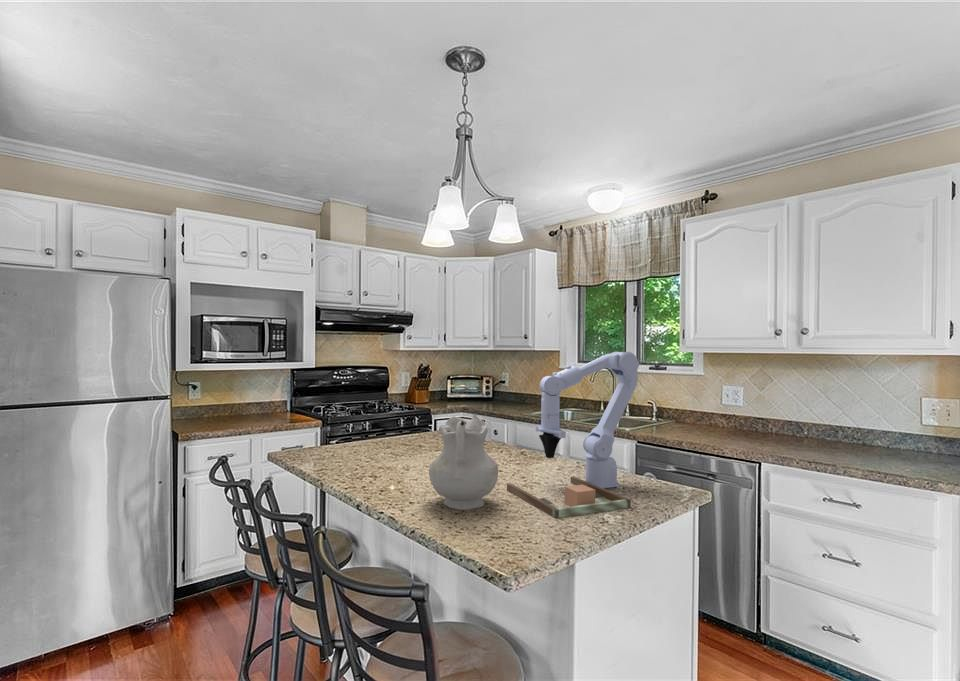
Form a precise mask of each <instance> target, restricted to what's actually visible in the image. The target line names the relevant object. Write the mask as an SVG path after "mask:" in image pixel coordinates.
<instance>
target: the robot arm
mask: <svg viewBox="0 0 960 681" xmlns="http://www.w3.org/2000/svg"><path fill="white" fill-rule="evenodd" d="M639 366H640V362H639V360H638V358H637V356H636V354H634V353H633V352H632V351H631V352H630V351H613V352H611V353H607V354H603V355H601V356H599V357H597V358H595V359H593V360H591V361H590V362H587V363H586V364H583V365H581V366H579V367H578V366H576V365H572V366H571V365H566V366H565V369H562V370H560V371H558V372H557V371H554V372H552V376H551V375H547V376H544V377H542V379H541V380H540V382H539V384H538V388H539V390H540V392H541V401H540V403H541V404H540V406H541V408H540V409H541V412H540V417H541V418H540V421H541V422H540V424H535V432H540V433H542V434H539V436H538V437H539V440H540V442H541V443H542V447H543V451H544V454H545V457H546V458H547V459H553V458H555V453H556V450H557V448H558V447H557V446H558V444H559V443H560V441H561V439H566V437H567V435H566V434H567V431H565V430H563V429H561V428H560V411H561V410H560V404H561V403H560V402H561V400H560V394H561V393H562V391H564V390H566V389H568V388H571V387H573V386H575V385H578V384H580V383H581V382H582V380H583V378H584V377H586V376H589V375H591V374H593V373H596V372H599V371H601V370H603V369H610V370H611V372H613V373H614V375H615V376H616V380H617V382H618V384H617V386H616V388H615V390H614V392H613V394H612V395H611V398H610V399H609V402H608V404H607V406H606V408H605V410H604V412H603V413H602V416H601V418H600V420H599V422H598V424H597V426H595V427H594V428H592V429H591V431H590V433H589V434H588V435H587V436H585V438H584V439H583V441H582V446H583V449H584V451H585V452H586V454H585V481H586V482H589V483H591V484H593V485H596V486H598V487H600V488H603V489H608V488H617V487H619V484H617V483H618V477H617V476H618V465H617V461H616V460H615V458H614V457H612V456H611V455H612V453H613V444H614V443H615V436H614V432H615V430H616V428H617V426H618V424H619V422H620V421H621V418H622V416H623V414H624V412H625V410H626V408H627V406H628V404H629V402H630V400H631V398H632V396H633V394H634V391H635V390H636V387H637V386H638V369H639Z"/></svg>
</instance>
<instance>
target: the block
mask: <svg viewBox="0 0 960 681" xmlns="http://www.w3.org/2000/svg"><path fill="white" fill-rule="evenodd" d="M593 503H596V501H595V490H594V489H592V488H590V487H587V486H585V485H574V484H573V485H567V486H564V504H565V505H567V507H571V506H578V505H586V504H593Z"/></svg>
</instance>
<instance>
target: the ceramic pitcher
mask: <svg viewBox="0 0 960 681" xmlns="http://www.w3.org/2000/svg"><path fill="white" fill-rule="evenodd" d="M484 420H485V418H483V417H482V416H481V415H477V414H473V415H472V418H471V419H470V420H469V421H468V420H465V419H464V418H462V417H458V416H455V415H453V416H451V417H450V418H448V419H447V421H446V422H445V424H444V425H439V428H438V429H439V433H440V435H441V436H442V441H443V447H442V450H441V452H440V453H439V454H438V455H437V456H436V457H435V458H434V459H432V461H431V463H430V466H429V468H428V475H429V480H430V483H431V486H432V488H433V489H434V490H435V491H436V493H437V495H439V496H442V497H444V498H445V499H444V500H443V501H442V503H441V504H442V505H444V506H445V507H448V508H450V509H453V510H463V511H464V510H466V511H471V510H475V509H479V508H482V507H484V505H485V501H484V499H483V498H484V497H486V496H488V495H489V494H491V493H492V491H493V490H494V489H495V487H496V484H497V482H498V479H499V478H498V477H499V467H498V463H497V461H496V459H494V458H493V457H491V455H489V454H488V453H487V451H486V450H485V440H486V438H487V434H488V432H489V430H490V428H489V427H488V425H486V423H485V421H484Z"/></svg>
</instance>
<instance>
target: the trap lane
mask: <svg viewBox="0 0 960 681" xmlns="http://www.w3.org/2000/svg"><path fill="white" fill-rule="evenodd" d="M570 484H573V486H574V485H585V486H587V487H590V488H592V489H594V490H595V503H593V504H586V505H578V506H571V507H570V506H564V507H559V506H558V505H556V504H554V503H553V501H550V500H548V499H547V498H545V497H542V498H538V497H537V496H535V495H533V494H532V493H530V492H527V491H525V490H524V489H522V488H520V487H519V486H517V485H515V484H513V483H511V482H507V483H506V491H508V492H509V493H512V494H513V495H515V496H516V497H518V498H520V499H522V500H523V501H525V502H526V503H528V504H530V505H532V506H533V507H535V508H537V509H539V510H540V511H542V512H544V513H546V514H547V515H549V516H551V517H552V518H554V519H557V518H565V517H572V516H579V515H580V516H581V515H586V513H587V514H593V512H594V513H600V511H601V512H607V511H613V510H614V511H615V510H621V509H629V508H631V503H632V502H631V499H629V498H626V497H624V496H622V495H619V494H617V493H615V492H612V491H610V490H607V489H606V488H600V487H598V486H596V485H593V484H591V483H589V482H586V480H584V479H581V478H579V477H578V476H577V477H576V476H570Z"/></svg>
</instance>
